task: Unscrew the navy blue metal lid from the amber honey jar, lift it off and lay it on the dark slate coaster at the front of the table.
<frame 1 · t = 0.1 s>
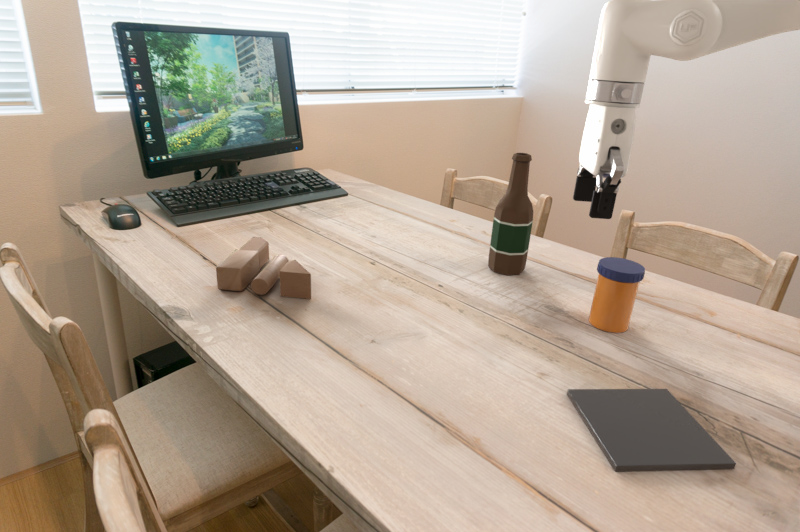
hand: (590, 208, 83), 20 cm above the table, tool pointing down, fingers open, 9 cm apart
honey jar: (608, 323, 90), on the table
wooden block set: (278, 278, 100), on the table
beer bottle: (505, 269, 111), on the table
jar lid: (621, 266, 86), point 10 cm above the table, screwed on, not yet turned
slate coaster: (643, 428, 65), on the table
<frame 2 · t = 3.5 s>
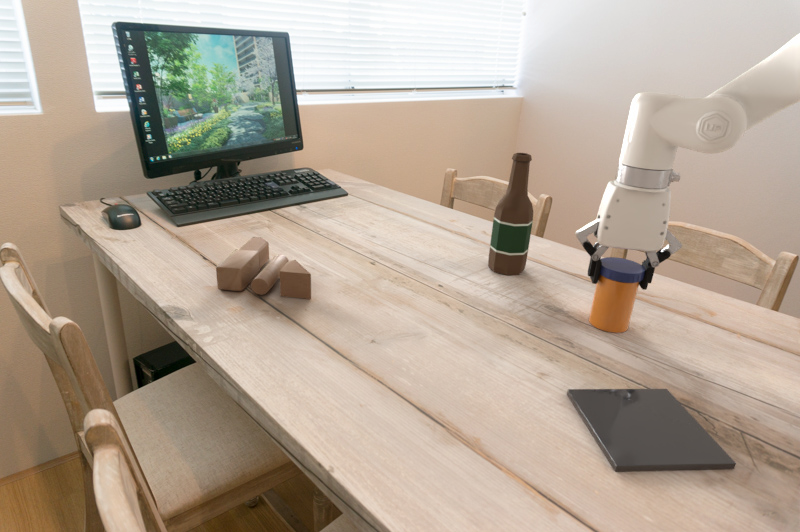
hand: (617, 282, 87), 8 cm above the table, tool pointing down, fingers closed on jar lid, 7 cm apart
jar lid: (621, 266, 86), point 10 cm above the table, screwed on, not yet turned, touching gripper
everything else where it was.
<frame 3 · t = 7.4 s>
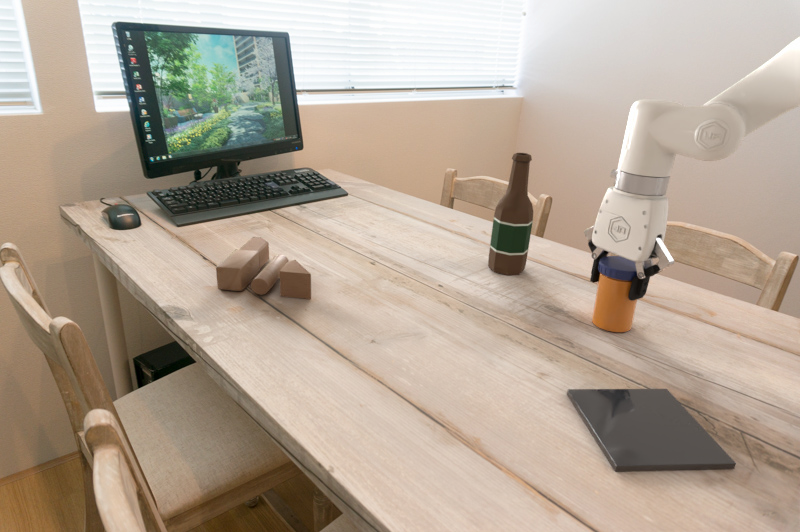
hand: (616, 288, 88), 7 cm above the table, tool pointing down, fingers closed on jar lid, 6 cm apart
honey jar: (611, 323, 90), on the table, touching gripper
jar lid: (622, 265, 86), point 11 cm above the table, turned 131° so far, risen 0.2 cm, still on its thread, touching gripper
everything else where it was.
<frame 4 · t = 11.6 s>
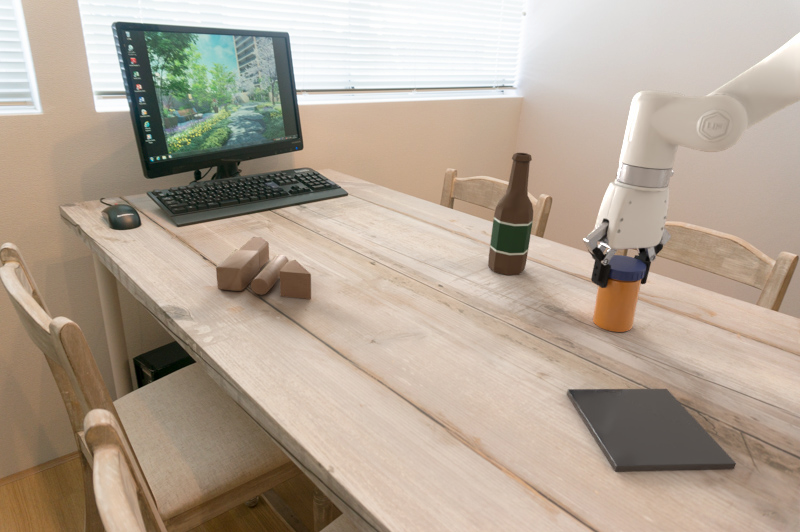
hand: (618, 281, 87), 8 cm above the table, tool pointing down, fingers closed on jar lid, 7 cm apart
honey jar: (612, 322, 90), on the table
jar lid: (622, 264, 86), point 11 cm above the table, turned 155° so far, risen 0.2 cm, still on its thread, touching gripper
everything else where it was.
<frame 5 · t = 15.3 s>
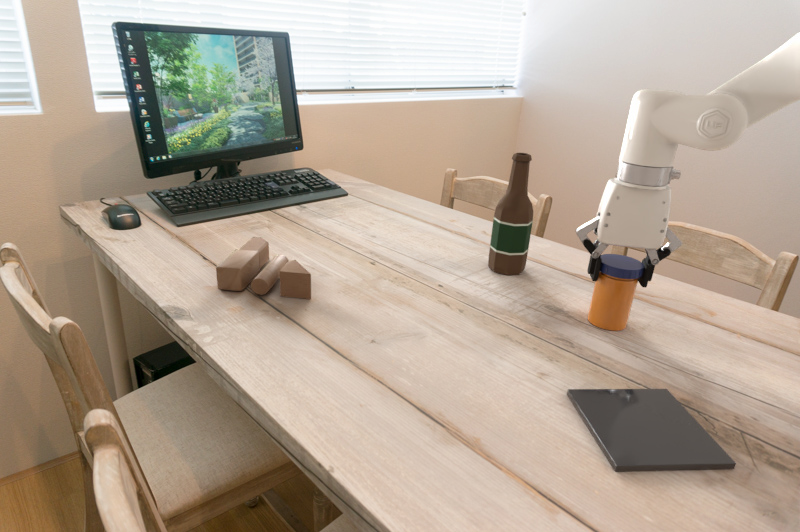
hand: (617, 280, 87), 8 cm above the table, tool pointing down, fingers closed on jar lid, 7 cm apart
jar lid: (620, 263, 87), point 11 cm above the table, turned 250° so far, risen 0.3 cm, still on its thread, touching gripper
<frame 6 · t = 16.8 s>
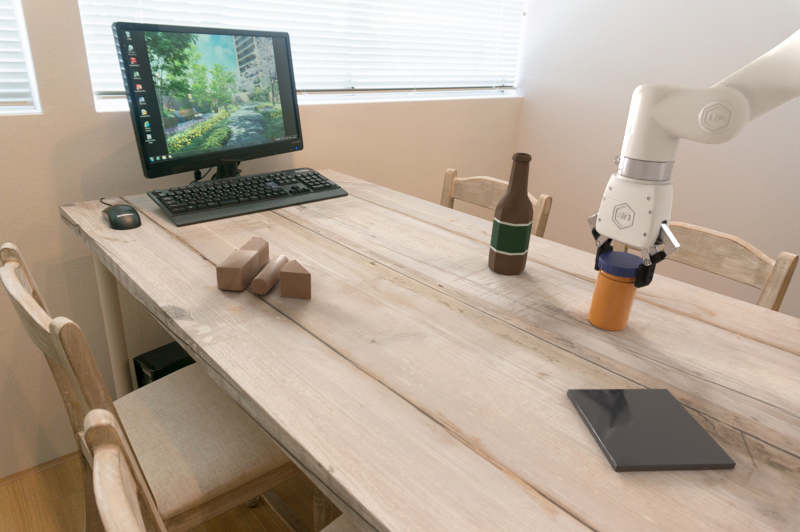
hand: (621, 276, 87), 9 cm above the table, tool pointing down, fingers closed on jar lid, 7 cm apart
honey jar: (606, 320, 91), on the table, touching gripper, jar lid
jar lid: (622, 261, 85), point 12 cm above the table, off its thread, touching gripper, honey jar
everything else where it was.
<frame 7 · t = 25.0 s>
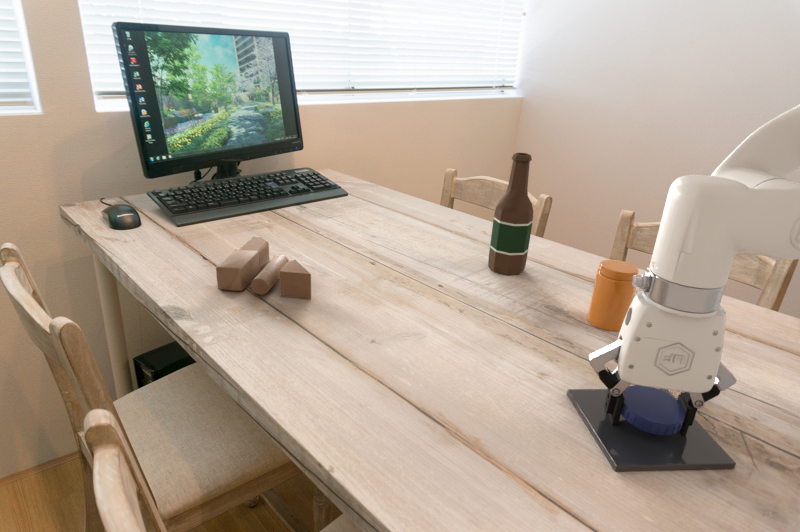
hand: (645, 421, 64), 1 cm above the table, tool pointing down, fingers closed on jar lid, 7 cm apart
honey jar: (606, 322, 91), on the table
jar lid: (651, 405, 63), point 4 cm above the table, off its thread, touching gripper
everything else where it was.
when the fingers open (2 cm above the table, at t = 35.8 s): jar lid drops 3 cm, resting on slate coaster.
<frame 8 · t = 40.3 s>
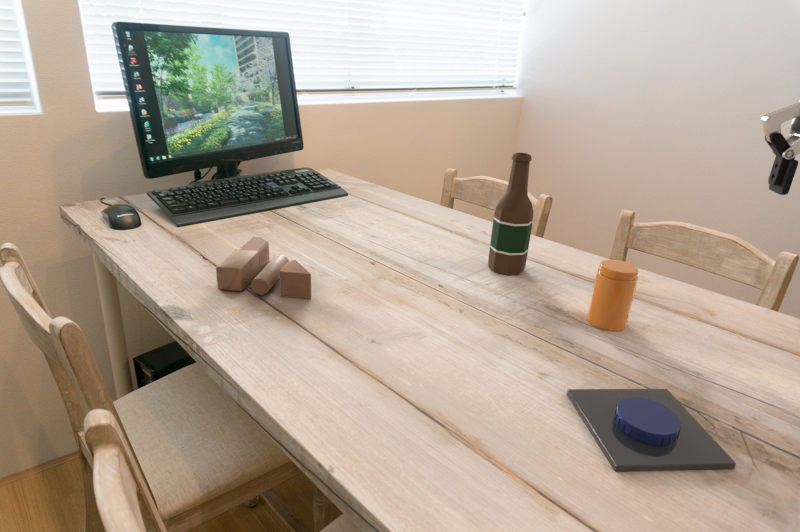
jar lid: (647, 416, 63), point 2 cm above the table, off its thread, touching slate coaster
everything else where it was.
at the end: jar lid inside the target area on the slate coaster (0.5 cm from its centre), point 2.1 cm above the slate coaster's base; the gripper is holding nothing; honey jar tilted 0° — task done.
